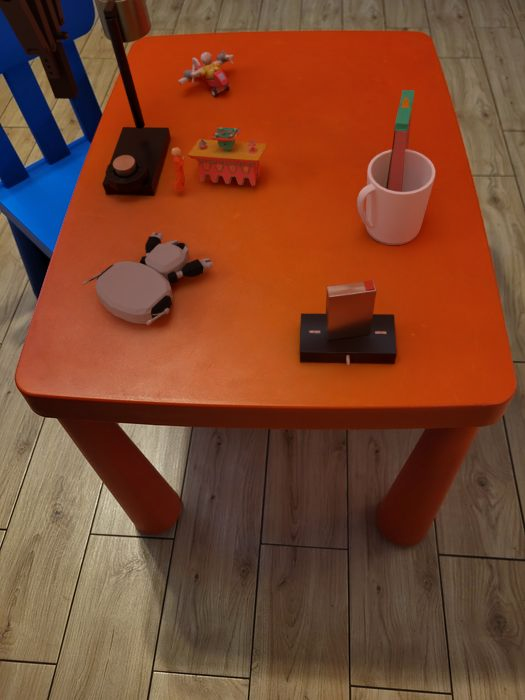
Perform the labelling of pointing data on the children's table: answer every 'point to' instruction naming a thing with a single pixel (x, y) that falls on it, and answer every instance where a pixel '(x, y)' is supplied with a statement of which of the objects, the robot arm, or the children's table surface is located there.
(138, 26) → the lamp
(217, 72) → the toy airplane
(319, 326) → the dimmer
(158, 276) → the robot toy
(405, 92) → the building blocks
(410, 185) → the mug
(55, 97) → the robot arm
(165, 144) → the lamp base
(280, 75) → the children's table surface
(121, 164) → the lamp switch
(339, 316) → the small card box
